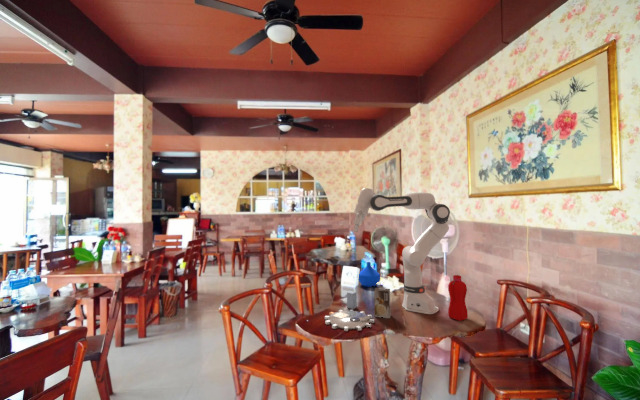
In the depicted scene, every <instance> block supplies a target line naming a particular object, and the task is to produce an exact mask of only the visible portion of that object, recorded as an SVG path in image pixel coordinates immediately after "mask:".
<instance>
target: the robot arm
mask: <svg viewBox="0 0 640 400" xmlns="http://www.w3.org/2000/svg"><path fill="white" fill-rule="evenodd" d="M392 207H393V208H395V207H401V208H405V209H407V210H424V211H425V213H426V216H427V217H428V218H429V219H430V220H432V222H431V224H429V226H428V227H427V228H426V229H425V230H424V231H423V232H422V233H421V234H420V235H419V236H418V237H417V238H418V239H417V240H416V241H415V242H414V244H413V245H407V246H405V247H403V249H402V253H401V256H402V264H403V272H404V274H403V275H404V277H403V278H404V279H403V280H404V281H403V282H404V284H403V292H404V293H403V301H402V304H401V306H402V308H404V310H405V311H408V312H414V313H420V314H425V315H434V314H436V313H438V312H439V310H440V309H439V307H438V306H436V304H435V301H434V300H435V299H434V298H432V297H431V296H430V295H429V294H428V293H427V292H426V289H427V287H426V286H425V287H424V285H423V273H422V270H421V269H422V268H421V266H422V265H423V264H424V262H425V259H427V257H428V255H430V253H431V252H432V250H433V249H434V247H435V246H437V244H439V243H440V242H441V241H442V239H443V238H444V237H445V236H446V235H447V233H448V231H449V230H450V226H449V224H448V221H449V218H450V213H451V211H450V208H449V207H448V206H447V205H446V204H445V203H444V204H443V203H437V202H436V198H435V196H434V194H433V193H431V192H412V193H407V194H404V195H400V196H384V195H383V194H377V193H376V192H375V191H374V190H373V189H372V188H366V187H365V188H362V189H360V191H359V194H358V197H357V203H356V205H355V208H354V211H353V213H355V214H354V215H355V218H354V221H353V224H354V228H353V232H356V233H357V232H358V230H359V229H360V226H362V224H363V221H364V219H365V217H368V213H369V210H370V209H371V210H372V211H375V212H380V211H383V210H384V209H386V208H392Z"/></svg>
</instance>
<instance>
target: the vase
mask: <svg viewBox="0 0 640 400" xmlns="http://www.w3.org/2000/svg"><path fill="white" fill-rule="evenodd" d="M359 272H360V274H359V279H358V282H359V283H360V284H361V285H362V286H363V287H365V288H366V287H367V288H373V287H372V286H374V287H376V286H375V284H376V283H377V282H379V283H380V280H381V274H380V273H379V272H378V271H377V270H375V268H374V267H372V266H371V261H368V262H366V267H364V268H363V269H362V270H361V271H359Z"/></svg>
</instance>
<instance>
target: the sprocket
mask: <svg viewBox="0 0 640 400" xmlns="http://www.w3.org/2000/svg"><path fill="white" fill-rule="evenodd" d="M365 312H366V311H364V310H361V311H357V310H354V309H350V308H349V310H342V309H338V311H336V312H334V311H330V312H329V313H328V315H325V316H324V320H325V321H324V322H325V324H326V325H327V326H329V325H331V328H332V329H334V330H336V329H342V330H344V332H348V331H349V330H357V332H358V331H362V329H363V328H368V327H370V328H371V327H372V324H374V323H375V318H373V314H366V313H365ZM369 323H370V324H369ZM365 326H366V327H365Z"/></svg>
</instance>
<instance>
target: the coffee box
mask: <svg viewBox="0 0 640 400" xmlns="http://www.w3.org/2000/svg"><path fill="white" fill-rule="evenodd" d="M373 297H374V298H373V299H374V301H373V302H374V318H381V317H383V318H382V319H391V316H392V314H391V289H390V288H382V287H375V288H374V290H373Z"/></svg>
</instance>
